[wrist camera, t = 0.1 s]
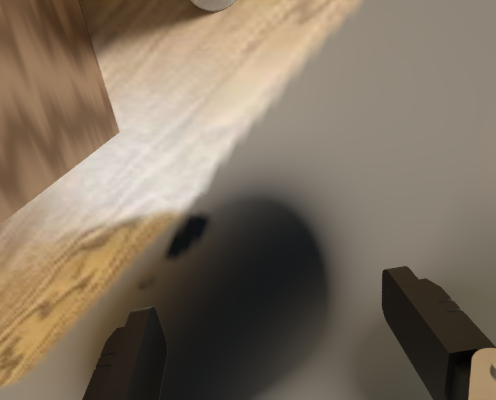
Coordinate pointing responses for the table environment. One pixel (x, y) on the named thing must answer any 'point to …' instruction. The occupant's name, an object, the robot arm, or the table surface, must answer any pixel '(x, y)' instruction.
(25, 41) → the bracket
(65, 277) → the table surface
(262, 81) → the table surface
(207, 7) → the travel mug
